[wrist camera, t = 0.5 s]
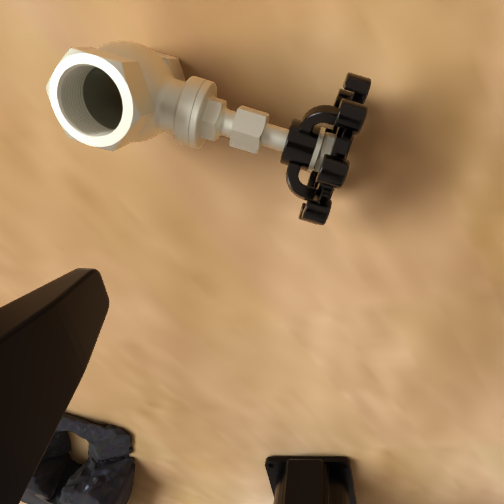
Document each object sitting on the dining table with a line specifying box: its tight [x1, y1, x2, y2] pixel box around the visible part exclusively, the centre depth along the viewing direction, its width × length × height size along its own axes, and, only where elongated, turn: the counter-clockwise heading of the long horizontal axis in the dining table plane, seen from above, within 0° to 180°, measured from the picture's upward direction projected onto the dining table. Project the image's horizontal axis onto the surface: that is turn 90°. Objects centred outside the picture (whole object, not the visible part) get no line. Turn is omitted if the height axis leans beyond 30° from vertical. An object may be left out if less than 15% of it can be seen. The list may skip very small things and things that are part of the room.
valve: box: [46, 41, 371, 225], centre depth 18 cm, size 7×7×12 cm
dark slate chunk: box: [21, 413, 135, 504], centre depth 36 cm, size 15×22×5 cm
